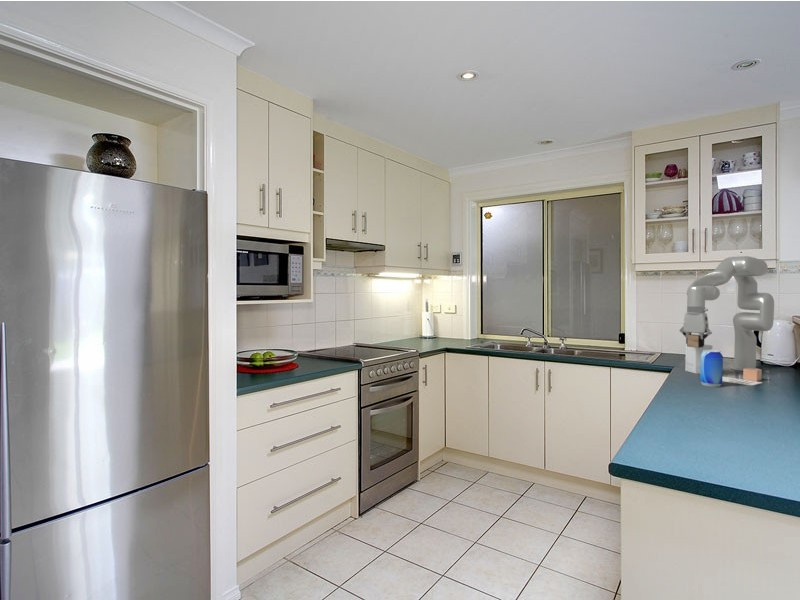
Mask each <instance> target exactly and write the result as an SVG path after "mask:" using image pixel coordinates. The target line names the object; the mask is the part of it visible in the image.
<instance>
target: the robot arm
mask: <svg viewBox="0 0 800 600" xmlns="http://www.w3.org/2000/svg"><path fill="white" fill-rule="evenodd" d="M767 272H768V264H767V262H766V261H765V260H764V259H761V258H756V257H754V256H753V257H752V256H748V255H746V256H743V255H742V256H741V255H740V256H731V257H730V256H729V257H726V258H724V259H723V260H722V261H721V262H719V264H718V265H717V266H716V268H715V269H714V270H713V271H711V272H709V273H707V274H705V275H703V276H701V277H698V278H696V279H695V280H694V281H693V282H691V284H690V285H689V286H688V288H687V290H686V297H687V298H686V302H687V303H686V306H687V307H686V312H685V314H684V318H683V326H682V327H681V328H680V329H679V332H680V333H681V334H682V335H683V336H684V337H685V345H686V344H687V336H688V335H691V334H698V335H700V339H699V347H703V346H704V344H705V339H707V338H708V337H709V336H711V335H712V334H713V332H712V331H711V329H710V328H709V327H710V326H709V319H708V313H706V312H708V311H709V309H708V308H706V301H715V300H717V299H718V298H719V297H720V295H721V292H720V289H719V288H718V287H720V286H722V285H726V284H727V283H728V282H729V281H730V280H731V279H732V278H734V279H735V280H736V283H737V298H736V300H737V302H736V303H737V308H739V309H740V310H743V312H738V313H736V314H734V315H733V317H732V323H733V328H734V330H733V331H734V350H733V351H734V353H733V354H734V356H733V357H734V358H733V359H734V360H733V364H734V365H731V366H730V369H731V370H734V371H740V372H743V369H745V368H754V369H759V368H757V336H756V334H755V333H754V332H753V331H755V332H756V331H757V332H768V331H771V330H772V328H773V326H774V319H775V318H774V315H775V299H774V297H773V296H772V294H770V293H768V292H758V282H757V280H756V279H755V278H754V277H761V276H764V275H766V273H767ZM744 310H745V311H744ZM746 311H747V312H746ZM748 311H750V312H748ZM751 311H759V312H751Z"/></svg>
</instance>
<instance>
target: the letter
mask: <svg viewBox="0 0 800 600" xmlns="http://www.w3.org/2000/svg"><path fill="white" fill-rule="evenodd" d="M722 382H727V383H733V384H741V385H744V386H745V385H746V386H756V385H759V384H763V382H762V381H751V380H744V379H742V378H735V377H727V376H722Z"/></svg>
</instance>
